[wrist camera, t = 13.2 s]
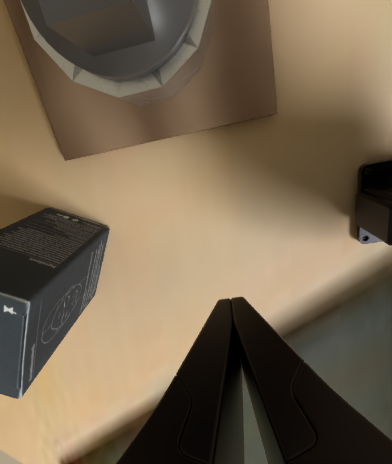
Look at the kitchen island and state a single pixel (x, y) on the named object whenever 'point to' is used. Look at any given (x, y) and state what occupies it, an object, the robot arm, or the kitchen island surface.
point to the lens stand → (168, 111)
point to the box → (43, 289)
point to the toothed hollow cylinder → (158, 82)
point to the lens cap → (113, 33)
